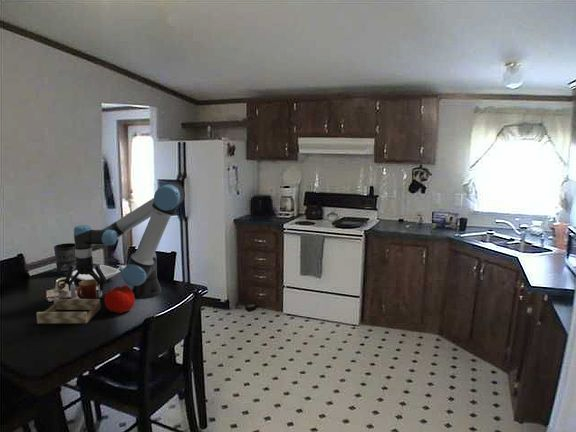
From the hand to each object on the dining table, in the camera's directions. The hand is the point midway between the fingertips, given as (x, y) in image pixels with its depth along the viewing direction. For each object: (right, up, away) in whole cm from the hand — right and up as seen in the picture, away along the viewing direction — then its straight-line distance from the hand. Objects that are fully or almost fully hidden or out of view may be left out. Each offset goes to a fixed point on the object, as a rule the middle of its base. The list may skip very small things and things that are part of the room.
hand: (86, 296), depth 205 cm
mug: (0, -3, +1) cm, 3 cm away
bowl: (-11, +2, +32) cm, 34 cm away
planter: (-34, +5, +45) cm, 56 cm away
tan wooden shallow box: (0, -6, -15) cm, 16 cm away
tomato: (+20, -5, -8) cm, 23 cm away
